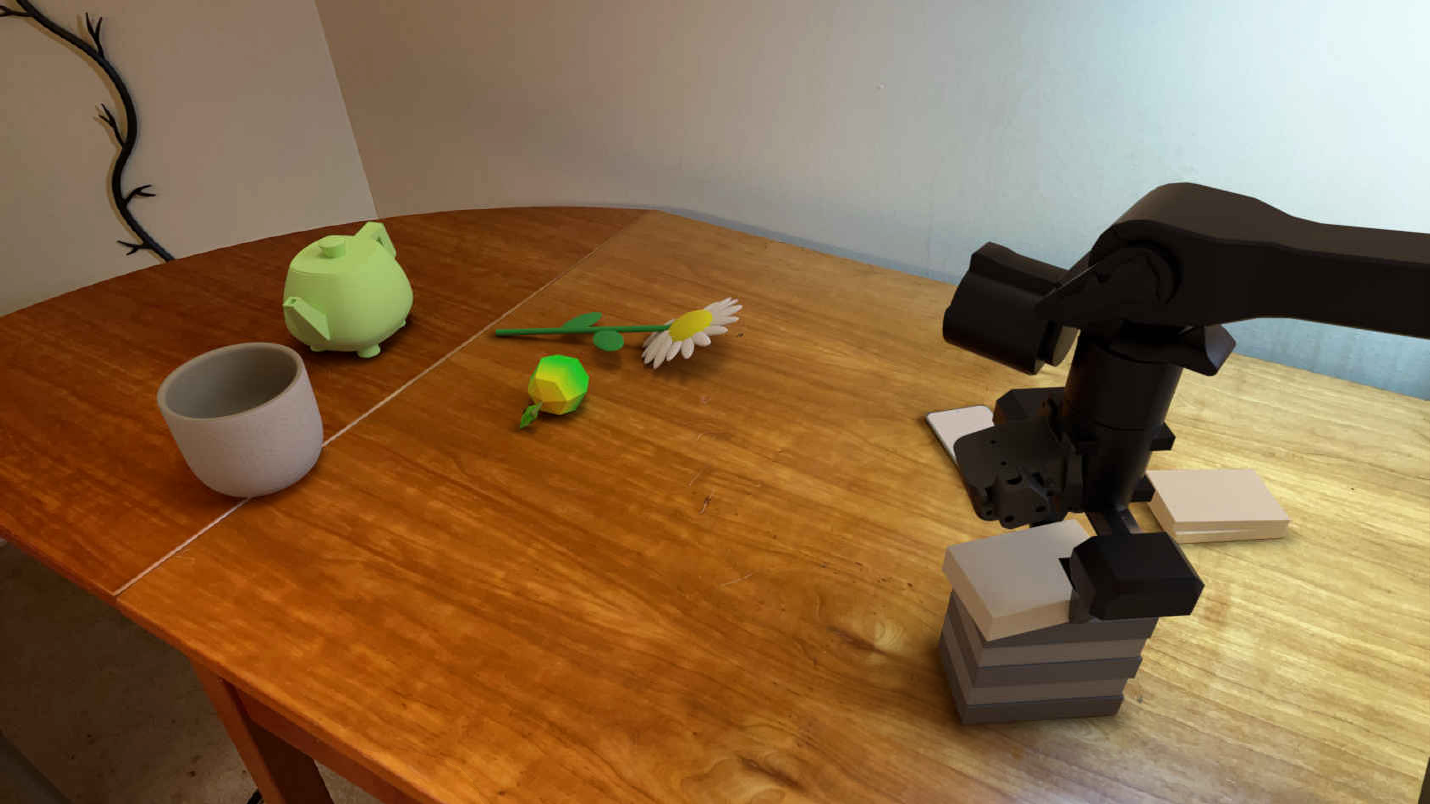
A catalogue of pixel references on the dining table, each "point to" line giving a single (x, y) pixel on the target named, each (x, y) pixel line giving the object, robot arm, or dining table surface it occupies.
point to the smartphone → (959, 424)
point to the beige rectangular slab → (1215, 505)
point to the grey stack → (1040, 667)
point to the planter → (244, 418)
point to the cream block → (1015, 578)
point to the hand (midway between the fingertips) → (1056, 580)
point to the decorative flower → (663, 339)
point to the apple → (555, 387)
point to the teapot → (347, 292)
